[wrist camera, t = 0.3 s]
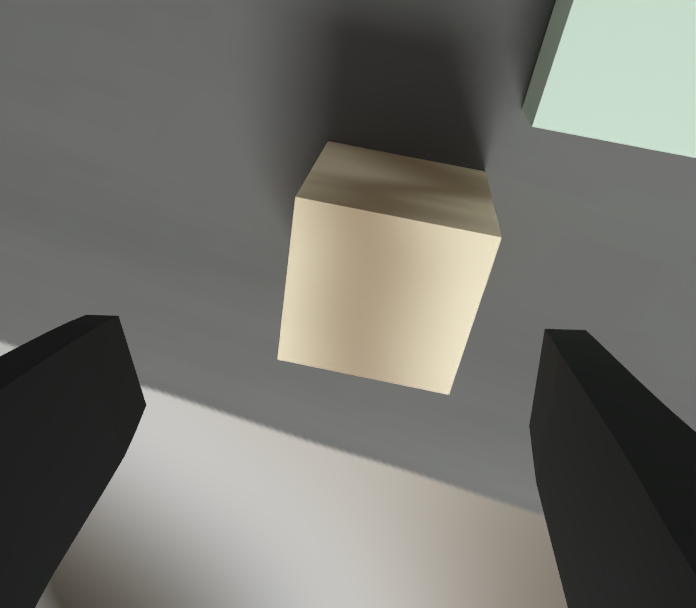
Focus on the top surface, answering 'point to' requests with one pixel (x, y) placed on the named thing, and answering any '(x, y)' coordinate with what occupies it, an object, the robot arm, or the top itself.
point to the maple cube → (387, 266)
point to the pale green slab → (619, 73)
